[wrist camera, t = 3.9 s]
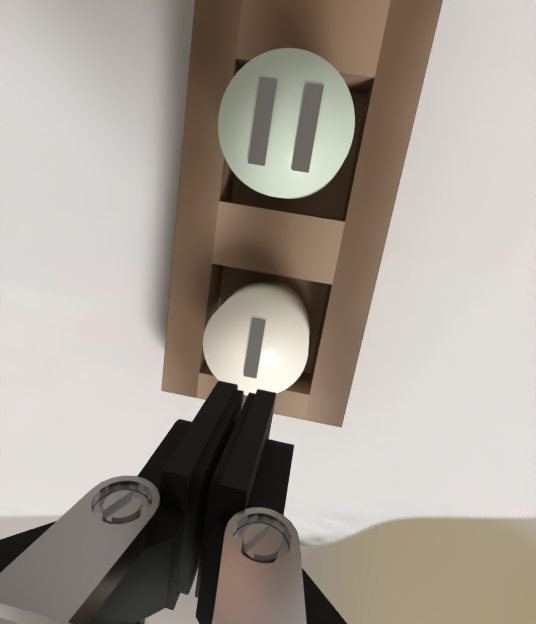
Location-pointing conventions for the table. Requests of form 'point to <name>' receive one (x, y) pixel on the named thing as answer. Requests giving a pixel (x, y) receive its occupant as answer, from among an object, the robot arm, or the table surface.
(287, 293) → the button
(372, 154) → the button board
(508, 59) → the table surface
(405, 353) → the table surface
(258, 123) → the button
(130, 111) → the table surface
